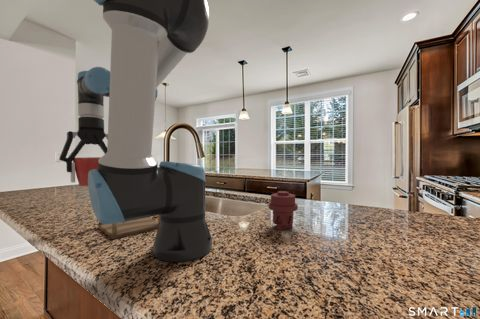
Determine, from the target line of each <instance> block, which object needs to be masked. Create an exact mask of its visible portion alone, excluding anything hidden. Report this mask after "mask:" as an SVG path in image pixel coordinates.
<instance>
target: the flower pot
mask: <svg viewBox="0 0 480 319" xmlns="http://www.w3.org/2000/svg"><path fill="white" fill-rule="evenodd" d="M101 157H102V156H101ZM101 157H99V156H97V157H92V156H91V157H90V156H89V157H75V158H74V159H73V161H72V163H75V176H76V179H77V182H78V186H80V187H88V172H89V171H90V170H93V169H98V160H99V159H100V158H101Z"/></svg>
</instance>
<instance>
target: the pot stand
mask: <svg viewBox="0 0 480 319" xmlns="http://www.w3.org/2000/svg"><path fill="white" fill-rule="evenodd" d="M157 216H158V220H156V219H154V218H152V217H147V218H142V219H137V220H132V221H127V222H125V223H114V224H102V223H100V222H99V221H98V224H97V228H98V229H99V230H101V231H102V232H103V233H104V234H105V235H107V236H108V237H109V238H111V239H112V240H118V239H121V238H125V237H130V236H133V235H137V234H142V233H145V232H149V231H153V230H158V228H159V225H160V215H157Z"/></svg>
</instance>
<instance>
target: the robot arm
mask: <svg viewBox="0 0 480 319" xmlns="http://www.w3.org/2000/svg"><path fill="white" fill-rule="evenodd" d="M93 1H94V2H95V3H96V4H98V6H102V19H103V21H105V23H106V24H107V25H108V27H109V28H110V30H111V41H110V43H111V47H110V69H107V68H105V67H102V66H94V67H91V68H90V69H88V70H81V71H78V73H77V80H76V84H77V94H78V95H77V104H78V105H77V106H78V108H77V111H78V113H77V115H78V118H77V119H78V120H77V122H78V123H77V124H78V126H77V128H78V129H77V131H70V130H69V131H67V132H66V140H65V143H64V146H63V148H62V150H61V153H60V156H59V161H62V162H65V164H66V173H70V183H76V171H75V163H73V159H74V158H77V155H79V153H80V152H81V150H82V149H83V148H84V146H85V145H93V146H94V145H98V147H100V149H101V151H102V152H103V153H104V154H103V155H102V156H101V158H100V159H99V160H98V169H93V170H90V171H89V172H88V186H87V187H88V193H89V198H90V202H91V207H92V210H93V213H94V216H95V218H96V219H97V221H98V223H99V222H100V223H102V224H114V223H125V222H127V221H132V220H137V219H142V218H147V217H150V218H152V217H157V216H158V215H160V225H159V228H158V229H157V231H156V234H155V238H154V241H153V247H152V251H153V252H152V254H153V256H154V257H155V258H156V259H158V260H160V261H163V262H164V261H165V262H169V263H171V262H174V263H177V262H180V263H181V262H188V261H193V260H197V259H199V258H200V259H201V258H202V257H204V256H206V255H207V254H209V253H210V252H211V251H212V249H213V240H212V239H213V238H212V235H211V232H210V230H209V226H208V223H207V220H206V182H207V180H206V171H205V168H204V167H203V166H202V165H199V164H193V163H186V162H185V163H184V162H175V161H163V160H162V161H160V162H158V160H156V158H155V157H154V156H153V154H152V152H153V151H152V148H153V134H154V133H153V132H154V117H155V106H156V101H157V98H158V94H159V93H158V88H159V86H160V85H161V84H162V82H164V80H165V79H166V78H167V77H168V76H169V74H170V73H171V72H172V71H173V70H174V69H175V67H177V65H179V63H180V62H181V61H182V60H183V59H184V58H185V56H186V55H187V54H191V53H192V54H193V53H194V52H195V51H196V50H197V49H198V48H199V47H200V46H201V44H202V43H203V41H204V40H205V37H206V35H207V32H208V29H209V21H210V11H209V10H210V9H209V5H208V1H207V0H93ZM104 97H105V98H107V97H108V98H109V99H108V121H107V122H108V123H107V133H106V132H105V120H104V118H105V111H104V106H105V105H104ZM76 137H78V138H79V139H80V141H79V142H78V144H77V145H76V146H75V148H73V150H72V152H71V153H70V154H69V156H68V157H67V155H68V153H69V151H70V148H71V145H72V143H73V141H74V140H73V139H75V138H76ZM105 138H106V140H107V145H106V143H105V142H104V139H105Z"/></svg>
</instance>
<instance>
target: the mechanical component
mask: <svg viewBox="0 0 480 319" xmlns="http://www.w3.org/2000/svg"><path fill="white" fill-rule="evenodd" d="M298 206H299V205H298V204H297V203H296V195H295V194H293V193H289V191H286V190H285V191H284V190H280V191H277V192H275V193H272V194H270V202H269V203H268V209H270V210H271V211H272V223H273V224H274V225H276V229H277V230H279V231H280V230H284V229H292V228H293V227H294V226H293V225H294V212H296V211H298V208H299V207H298Z"/></svg>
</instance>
